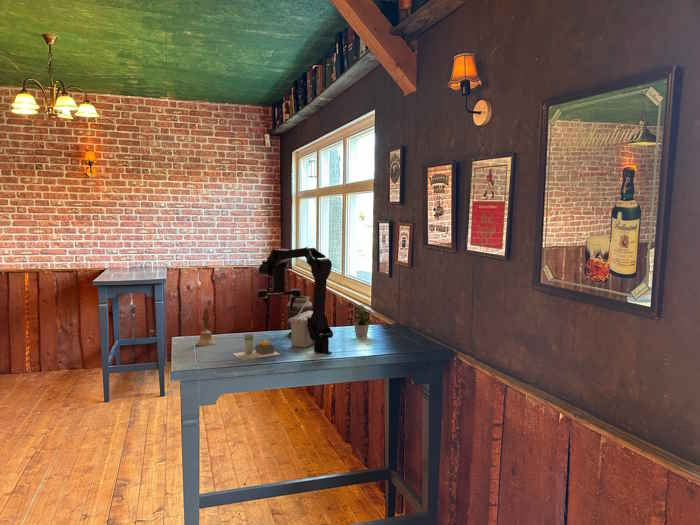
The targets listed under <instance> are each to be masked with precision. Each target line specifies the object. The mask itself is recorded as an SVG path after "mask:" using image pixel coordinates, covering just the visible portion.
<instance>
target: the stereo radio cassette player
mask: <svg viewBox="0 0 700 525" xmlns="http://www.w3.org/2000/svg"><path fill="white" fill-rule="evenodd" d="M308 298H309V299H310V298H311V296H308ZM307 301H308V300H307ZM307 301H306V303H307ZM306 303H305V304H306ZM305 304H304V306H305ZM304 306H303V307H302V309H303V308H304ZM302 309H301V311H302ZM301 311H300V312H299V314H298V315H297V316H295V317H292V318H290V317H289V318H290V322H291V327H290V328H291V329H290V332H291V335H290V339H291V340H290V343H291V347H295V348H302V349H303V348H304V349H305V348H307V347H310V346H312V345H314V341H313V340H311V339H310V335H309V331H308V326H307V318H308V317H310V316H312V314H313V310H310V311H307V312H304V313H302V314H300V313H301ZM320 335H323V333H322V334H320Z"/></svg>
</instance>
